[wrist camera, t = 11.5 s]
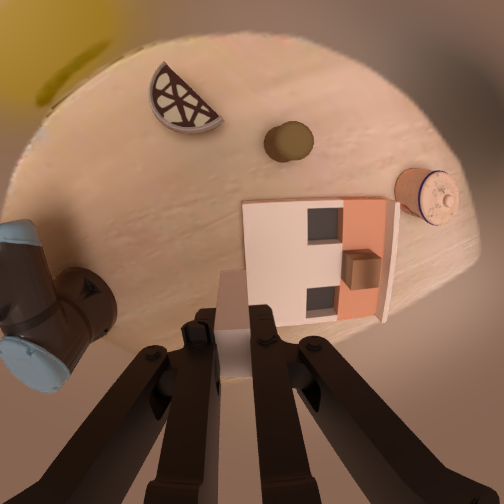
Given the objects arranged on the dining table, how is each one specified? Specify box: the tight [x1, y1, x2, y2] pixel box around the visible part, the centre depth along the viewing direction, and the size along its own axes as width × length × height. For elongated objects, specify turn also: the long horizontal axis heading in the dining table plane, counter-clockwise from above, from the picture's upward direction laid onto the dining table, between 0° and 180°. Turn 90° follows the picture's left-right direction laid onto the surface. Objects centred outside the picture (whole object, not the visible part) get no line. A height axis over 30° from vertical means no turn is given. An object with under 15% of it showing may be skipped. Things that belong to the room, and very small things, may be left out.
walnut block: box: [341, 249, 382, 291], centre depth 46 cm, size 5×5×5 cm
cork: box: [264, 121, 314, 162], centre depth 39 cm, size 6×6×11 cm
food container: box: [149, 61, 224, 134], centre depth 37 cm, size 12×6×10 cm, turn 42°
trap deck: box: [242, 197, 400, 327], centre depth 48 cm, size 25×22×6 cm
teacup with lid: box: [395, 168, 460, 226], centre depth 42 cm, size 12×9×12 cm
